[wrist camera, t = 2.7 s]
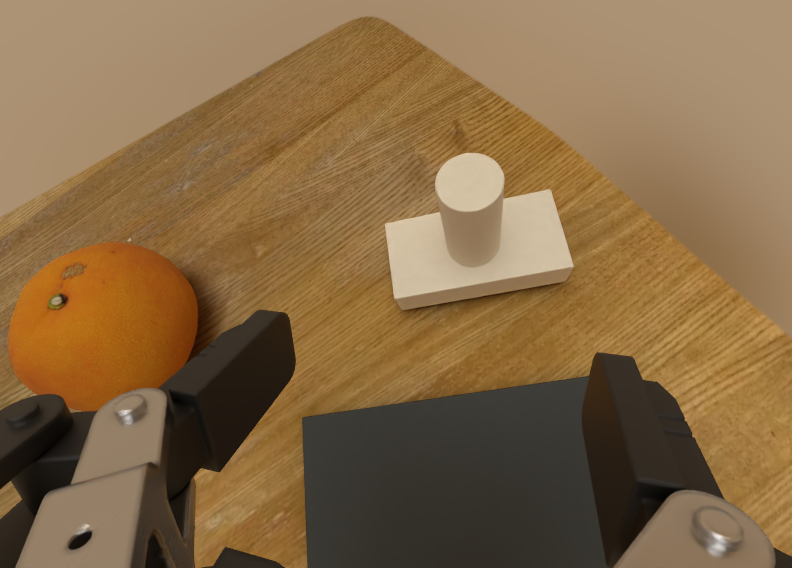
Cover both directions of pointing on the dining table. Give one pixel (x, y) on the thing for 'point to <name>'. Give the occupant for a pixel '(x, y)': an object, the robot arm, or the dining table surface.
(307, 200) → the dining table surface
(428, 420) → the scrub mat
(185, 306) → the fruit
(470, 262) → the cream block with cylinder
